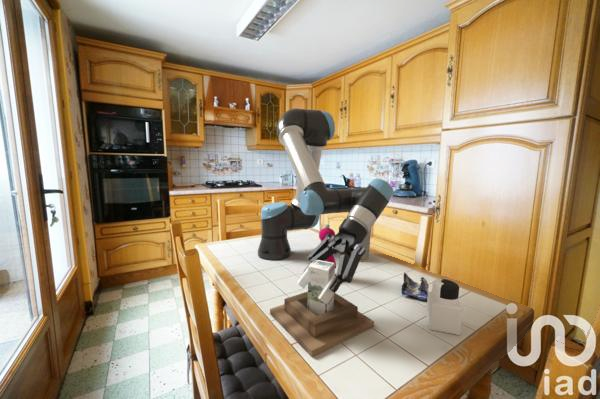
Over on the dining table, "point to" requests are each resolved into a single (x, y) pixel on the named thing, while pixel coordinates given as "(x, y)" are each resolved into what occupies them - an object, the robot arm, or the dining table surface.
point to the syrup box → (319, 286)
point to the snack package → (410, 285)
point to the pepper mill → (322, 236)
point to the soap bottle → (365, 246)
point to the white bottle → (444, 307)
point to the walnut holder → (320, 323)
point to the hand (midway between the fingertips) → (310, 292)
